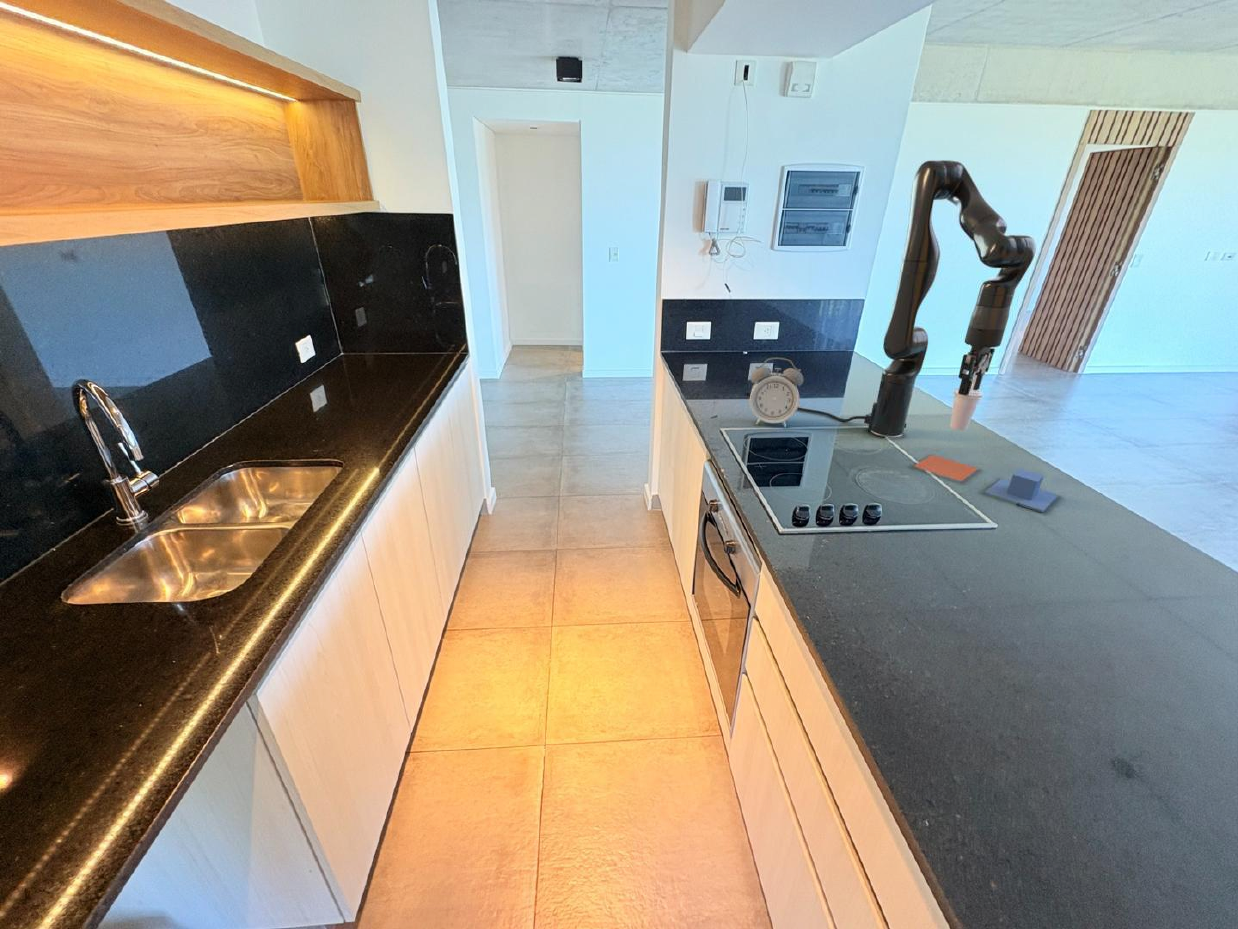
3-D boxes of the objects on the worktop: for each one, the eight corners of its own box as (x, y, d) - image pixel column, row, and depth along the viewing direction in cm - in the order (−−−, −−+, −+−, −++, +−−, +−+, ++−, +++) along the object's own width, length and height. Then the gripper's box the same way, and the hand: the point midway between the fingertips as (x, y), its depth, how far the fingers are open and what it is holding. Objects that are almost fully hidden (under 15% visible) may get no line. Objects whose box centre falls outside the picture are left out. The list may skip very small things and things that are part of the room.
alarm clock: (745, 425, 174) (752, 359, 165) (746, 416, 182) (753, 353, 172) (797, 429, 170) (807, 362, 161) (796, 421, 178) (806, 356, 168)
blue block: (1006, 492, 129) (1012, 474, 127) (1013, 487, 132) (1019, 468, 130) (1030, 500, 125) (1037, 481, 123) (1037, 494, 128) (1044, 475, 126)
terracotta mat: (912, 468, 144) (913, 466, 143) (931, 456, 150) (932, 454, 150) (960, 483, 135) (961, 481, 135) (978, 470, 142) (979, 468, 142)
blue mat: (983, 494, 130) (984, 491, 129) (1001, 480, 137) (1001, 478, 136) (1042, 512, 121) (1043, 510, 121) (1057, 497, 128) (1058, 494, 128)
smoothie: (976, 432, 135) (993, 379, 129) (949, 430, 136) (964, 377, 130) (966, 424, 141) (981, 372, 135) (940, 422, 142) (954, 371, 136)
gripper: (980, 319, 134) (963, 383, 141) (958, 326, 126) (940, 394, 133) (1015, 323, 129) (995, 390, 136) (994, 330, 120) (973, 401, 127)
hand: (968, 391), depth 134 cm, fingers closed on smoothie, 6 cm apart
